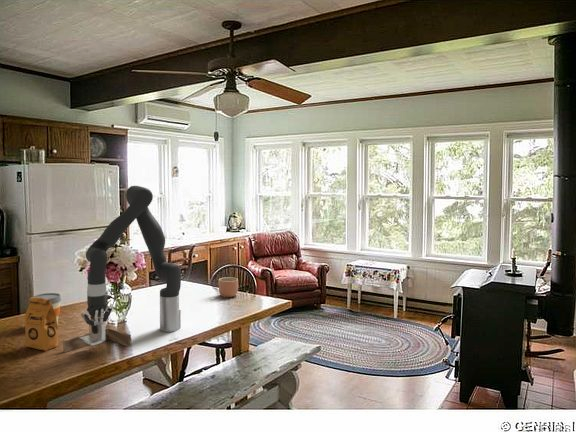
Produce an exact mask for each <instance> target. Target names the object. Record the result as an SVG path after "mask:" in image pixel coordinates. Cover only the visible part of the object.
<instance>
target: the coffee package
mask: <svg viewBox="0 0 576 432" xmlns="http://www.w3.org/2000/svg"><path fill="white" fill-rule="evenodd" d="M28 301H29V304H28V307H27V310H26V312H25V315H24V328H25V331H24V332H25V334H24V336H25V347H27V348H32V349H36V350H39V351H46V352H47V351H48V350H52V349H54V348H57V347H58V346H59V337H58V336H59V327H58V324H57V318H56V314H55V311H54V309H53V306H52V304H51V301H50V299H44V298H36V297H34V296H31V297H30V298H29V299H28Z"/></svg>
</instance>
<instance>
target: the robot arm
mask: <svg viewBox="0 0 576 432" xmlns="http://www.w3.org/2000/svg"><path fill="white" fill-rule="evenodd" d="M125 198H126V202H127V204H128V207H127V208H126V209H125V210H124V211H123V212H122V213H121V214H120V215H118V216H117V217H116V218H114V220H112V221H111V222H110V223H109V224H108V225H107V227H106V228H105V229H104V230H103V232H102V233H101V234H100V236H99V237H98V238H97V239H96V240H95V241H94V242H93V243H92V244H91V245H90V246H89V247H88V249H87V250H86V252H85V258H86V260H87V261H88V262H89V271H88V272H87V286H86V288H87V290H86V293H87V294H86V295H87V297H86V299H87V301H86V303H87V304H86V305H87V308H86V311H85V312H83V313H81V314H80V315H81V317H82V318H83V320H84V321H85V324H87V325H88V326H89V325H92V332H93V333H94V334H97V321H100V322H103V323H105V322H107V321H108V319H109V317H110V315H111V313H112V311H113V308H111V307H109V306H107V285H106V270H107V267H108V266H107V265H108V254H107V251H108V250H109V249H110V248H112V247H115V245H116V244H117V243H118V241H119V240H120V238H121V237H122V236H123V235H124V233H125V231H126V230H127V229H128V228H129V227H130V225H132V223H134V221H135V220H136V221H137V225H138V228H139V230H140V233H141V235H142V238H143V240H144V244H145V245H146V247H147V249H148V252H149V256H150V258H151V261H152V265H153V269H154V271H155V274H156V275H155V276H156V277H157V279H158V280H160V281H161V282H166V287H163V288H161V289H160V290H159V330H160V331H161V332H165V333H172V332H176V331H179V329H181V328H182V327H181V325H182V324H181V322H182V321H181V319H182V318H181V311H182V310H181V308H180V291H181V287H182V286H181V285H182V269H181V267H180V265H179V264H177V263H172V262H168V261H167V259H166V257H165V253H164V252H165V251H164V249H165V246H166V245H165V244H166V237H165V234H164V232H163V229H162V227H161V226H162V225H160V223H159V221H158V220H157V219H156V218H155V216H154V215H153V214H152V212H151V211H150V208H149V206H150V205H151V203H152V201H153V198H154V196H153V193H152V191H151V189H150V188H146V187H144V186H140V185H131V186H129V187H128V188H127V190H126V192H125ZM90 319H91V320H90Z"/></svg>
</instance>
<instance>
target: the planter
mask: <svg viewBox="0 0 576 432" xmlns="http://www.w3.org/2000/svg"><path fill="white" fill-rule="evenodd" d="M238 291H239V279H238V278H237V277H233V276H232V277H231V276H229V277H227V276H226V277H221V278H219V279H218V293H219V295H220V296H221V297H223V298H234V297H235V296H236V295H237V294H238Z"/></svg>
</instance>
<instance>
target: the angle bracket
mask: <svg viewBox="0 0 576 432" xmlns="http://www.w3.org/2000/svg"><path fill="white" fill-rule="evenodd" d="M89 319H90V318H89ZM90 320H91V319H90ZM105 328H106V323H105V322H100V321H98V320H97V334H94V333H93V332H92V325H89V324H88V333H89V335H88V336H84V337H81V338H79V340H80V341H83V342H85V343H87V344H90V345H89V346H96V345H99V344H102V343H105V342H106V340H105Z"/></svg>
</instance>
